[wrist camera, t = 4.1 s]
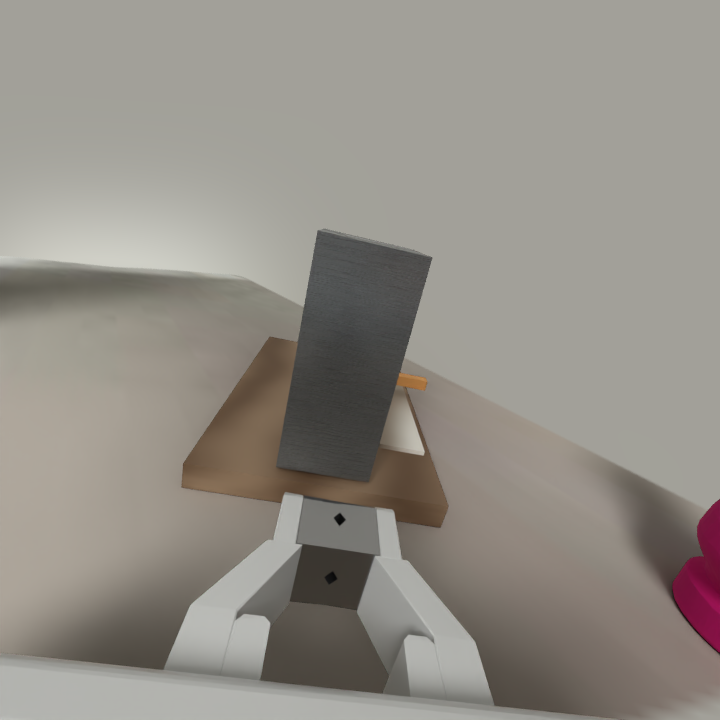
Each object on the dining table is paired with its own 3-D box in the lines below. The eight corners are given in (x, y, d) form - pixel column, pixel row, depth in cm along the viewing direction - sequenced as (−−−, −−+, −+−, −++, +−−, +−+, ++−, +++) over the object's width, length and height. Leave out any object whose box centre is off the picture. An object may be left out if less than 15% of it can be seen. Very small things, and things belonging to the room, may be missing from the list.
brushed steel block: (275, 467, 19) (317, 230, 15) (299, 387, 29) (328, 227, 25) (368, 482, 20) (432, 257, 16) (361, 399, 29) (400, 244, 25)
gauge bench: (181, 487, 19) (191, 352, 16) (267, 349, 40) (277, 280, 37) (440, 527, 20) (485, 409, 18) (393, 374, 41) (411, 310, 39)
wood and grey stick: (312, 386, 29) (317, 359, 29) (314, 379, 31) (319, 352, 30) (420, 407, 30) (429, 381, 30) (417, 399, 32) (425, 374, 31)
